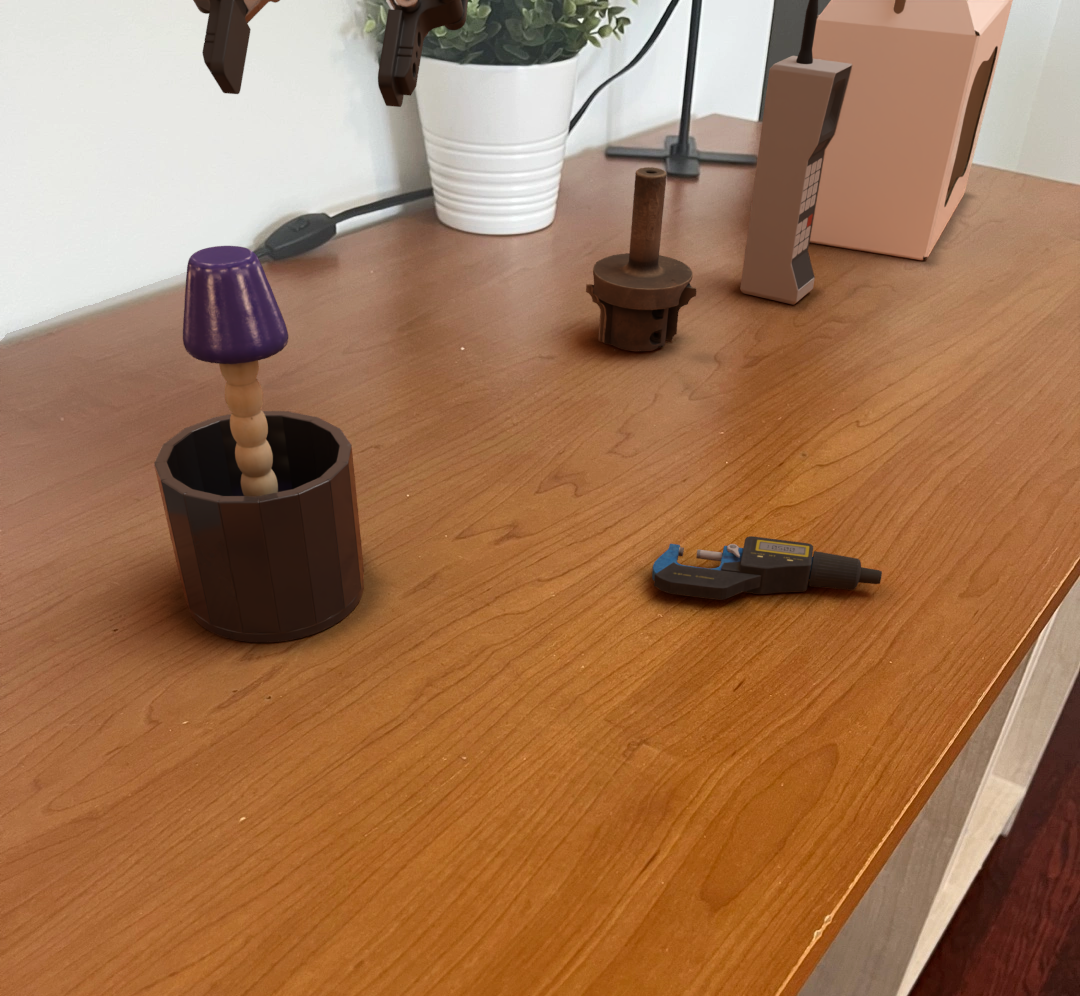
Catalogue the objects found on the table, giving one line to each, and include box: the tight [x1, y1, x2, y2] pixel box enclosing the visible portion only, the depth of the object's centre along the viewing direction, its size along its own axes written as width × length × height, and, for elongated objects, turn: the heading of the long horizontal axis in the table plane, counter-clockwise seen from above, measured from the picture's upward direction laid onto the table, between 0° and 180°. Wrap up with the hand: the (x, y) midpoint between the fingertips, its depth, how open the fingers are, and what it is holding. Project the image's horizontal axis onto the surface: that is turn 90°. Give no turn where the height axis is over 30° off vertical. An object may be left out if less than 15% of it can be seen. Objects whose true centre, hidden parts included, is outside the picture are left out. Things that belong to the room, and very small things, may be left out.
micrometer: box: [651, 535, 883, 601], centre depth 60 cm, size 12×2×5 cm
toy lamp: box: [182, 245, 289, 496], centre depth 54 cm, size 5×5×17 cm
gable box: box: [810, 0, 1014, 261], centre depth 100 cm, size 22×13×28 cm, turn 156°
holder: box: [153, 410, 365, 644], centre depth 57 cm, size 9×9×8 cm
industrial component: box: [585, 166, 698, 352], centre depth 81 cm, size 9×7×12 cm
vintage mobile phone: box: [739, 0, 852, 305], centre depth 85 cm, size 4×5×25 cm
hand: (306, 90), depth 56 cm, fingers open, 8 cm apart
